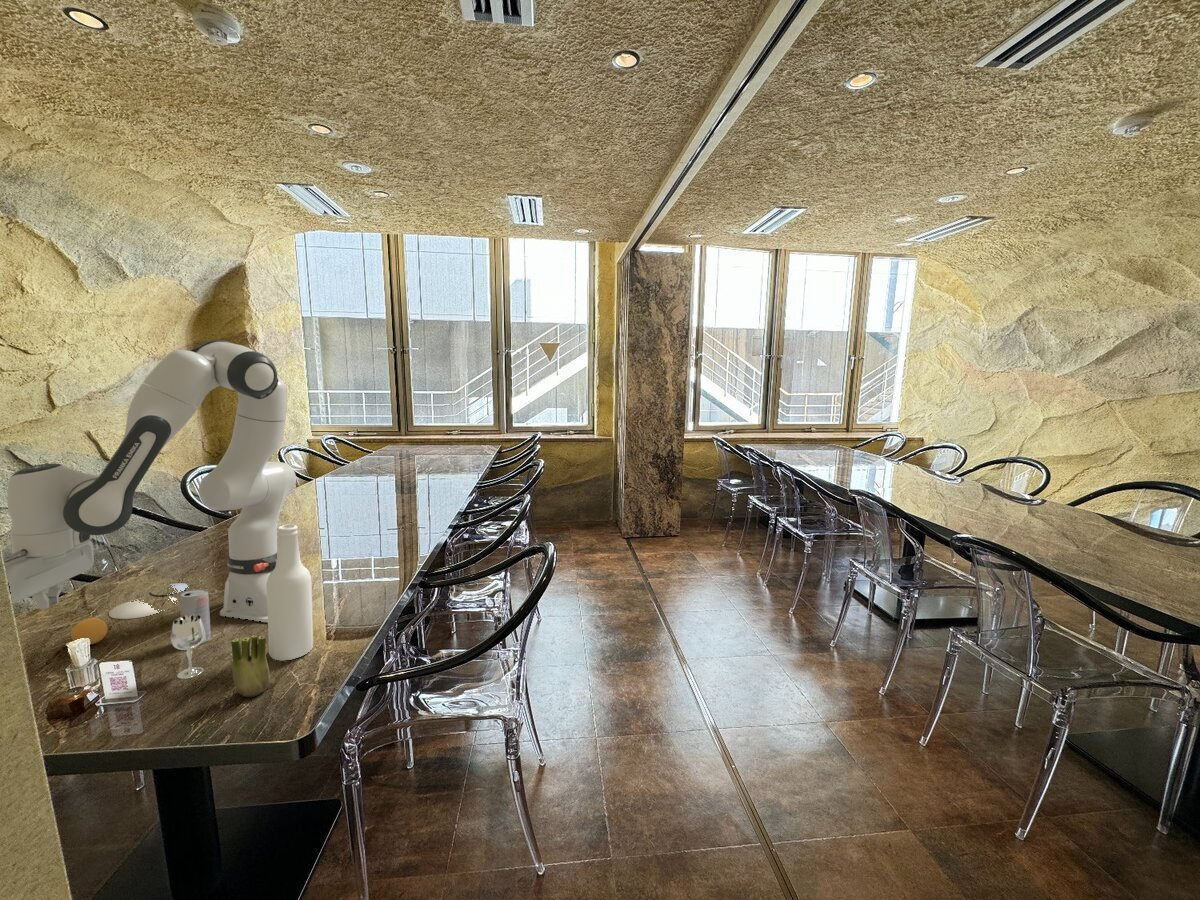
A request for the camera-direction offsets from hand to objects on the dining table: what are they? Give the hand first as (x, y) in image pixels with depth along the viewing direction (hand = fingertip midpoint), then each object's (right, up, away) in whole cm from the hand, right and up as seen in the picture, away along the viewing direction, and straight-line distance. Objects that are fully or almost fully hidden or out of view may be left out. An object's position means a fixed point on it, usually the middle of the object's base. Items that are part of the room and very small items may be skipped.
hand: (48, 606), depth 111 cm
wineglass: (+28, -15, +2) cm, 32 cm away
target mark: (-6, -9, +31) cm, 33 cm away
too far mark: (-9, -8, +42) cm, 44 cm away
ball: (-2, -9, +11) cm, 14 cm away
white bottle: (+44, -14, +11) cm, 48 cm away
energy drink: (+20, -13, +15) cm, 28 cm away
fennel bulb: (+46, -16, -4) cm, 49 cm away
